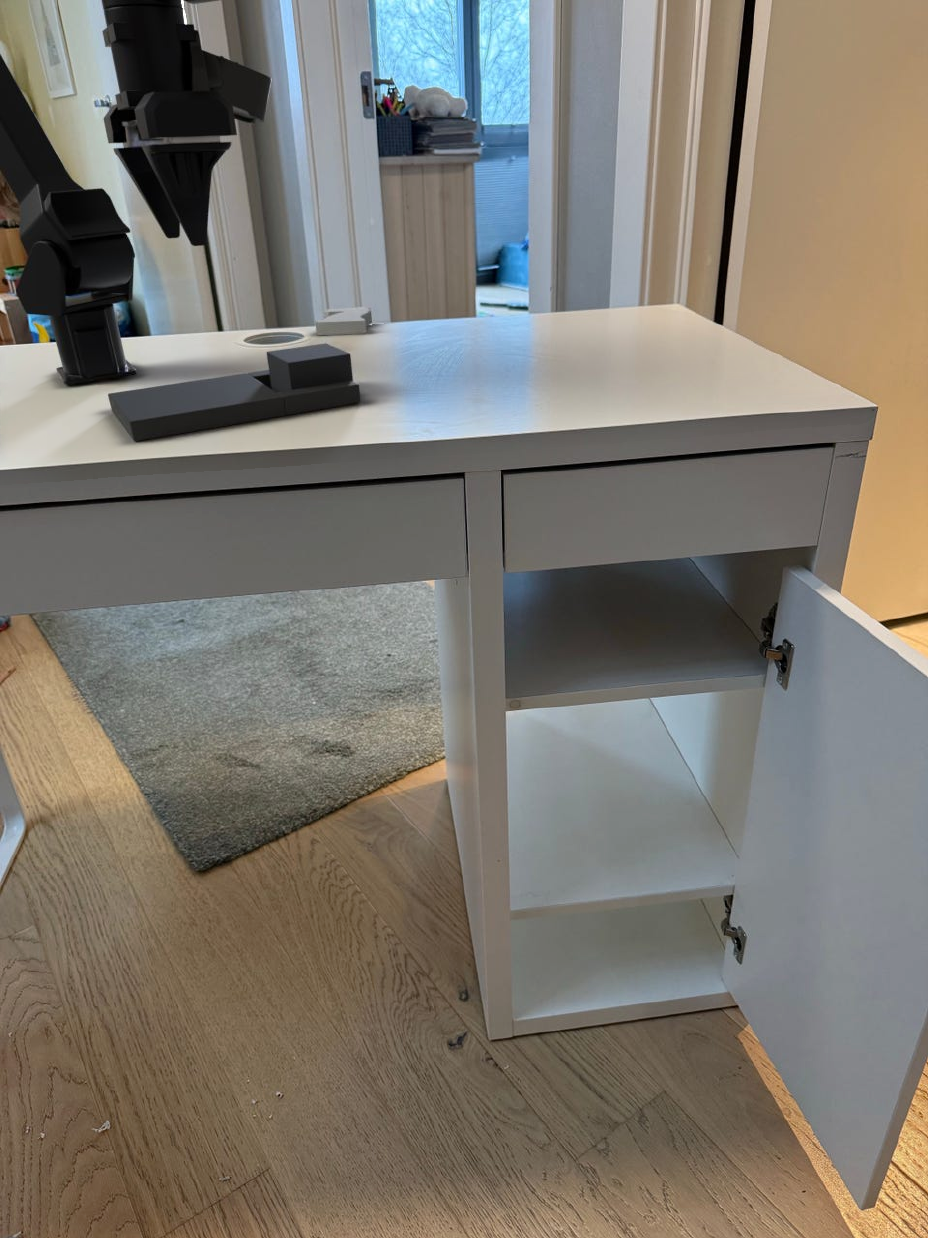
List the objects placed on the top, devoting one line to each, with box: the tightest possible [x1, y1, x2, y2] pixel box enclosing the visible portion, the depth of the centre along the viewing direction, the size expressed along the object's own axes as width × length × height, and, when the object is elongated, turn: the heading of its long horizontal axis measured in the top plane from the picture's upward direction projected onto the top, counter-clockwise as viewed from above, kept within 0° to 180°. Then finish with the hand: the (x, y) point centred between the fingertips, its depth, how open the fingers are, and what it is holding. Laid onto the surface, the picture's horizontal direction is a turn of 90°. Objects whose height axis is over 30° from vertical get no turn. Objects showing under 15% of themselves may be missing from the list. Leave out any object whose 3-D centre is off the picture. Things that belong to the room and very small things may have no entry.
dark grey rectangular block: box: [265, 342, 354, 393], centre depth 72 cm, size 5×5×4 cm
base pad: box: [107, 369, 362, 442], centre depth 70 cm, size 10×18×2 cm, turn 119°
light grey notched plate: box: [315, 306, 373, 336], centre depth 100 cm, size 6×1×10 cm
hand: (185, 241), depth 71 cm, fingers open, 9 cm apart
